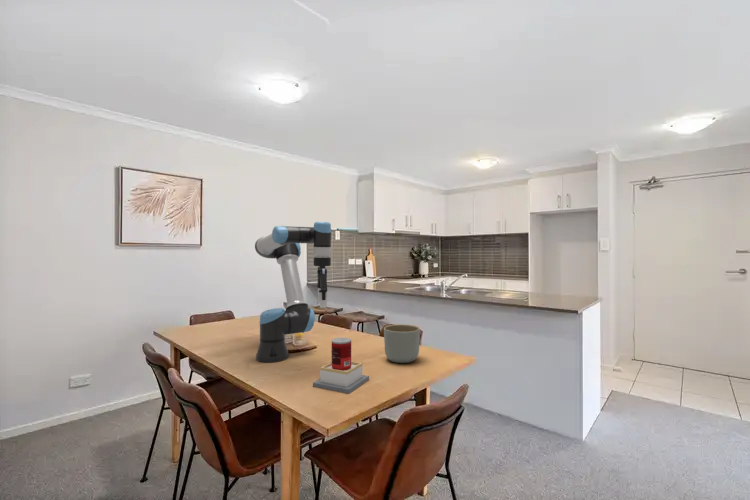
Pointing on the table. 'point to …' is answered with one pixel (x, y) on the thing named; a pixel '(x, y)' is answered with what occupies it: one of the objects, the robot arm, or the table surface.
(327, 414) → the table surface
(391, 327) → the planter
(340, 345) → the canned food
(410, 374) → the table surface
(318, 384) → the base
